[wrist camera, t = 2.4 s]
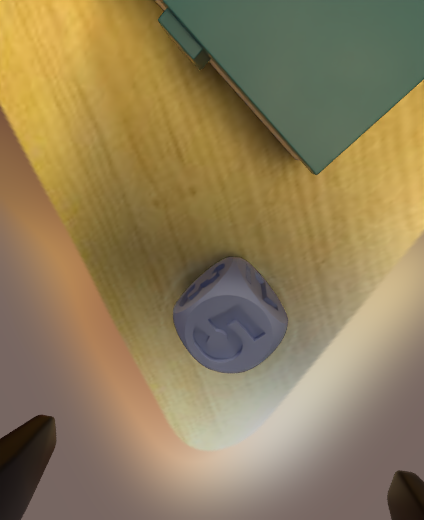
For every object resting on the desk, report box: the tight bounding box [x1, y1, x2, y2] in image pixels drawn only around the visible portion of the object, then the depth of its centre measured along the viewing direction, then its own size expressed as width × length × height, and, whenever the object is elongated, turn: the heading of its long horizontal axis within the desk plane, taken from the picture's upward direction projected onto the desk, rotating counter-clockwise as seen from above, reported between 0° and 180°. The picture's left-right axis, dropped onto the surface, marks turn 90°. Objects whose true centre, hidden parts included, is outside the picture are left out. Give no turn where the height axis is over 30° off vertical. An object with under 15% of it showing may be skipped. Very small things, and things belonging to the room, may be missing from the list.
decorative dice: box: [173, 257, 288, 373], centre depth 16 cm, size 4×4×4 cm
